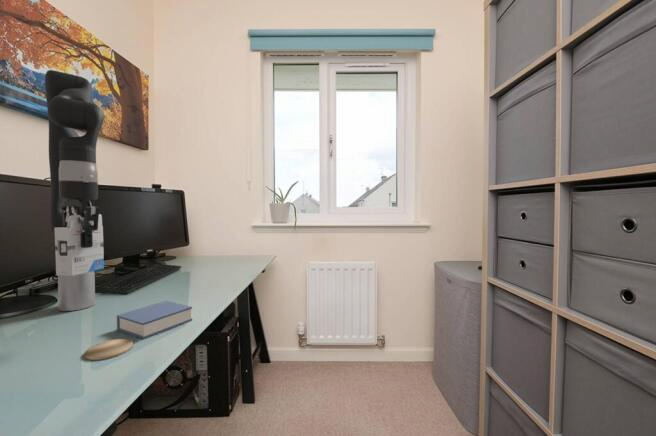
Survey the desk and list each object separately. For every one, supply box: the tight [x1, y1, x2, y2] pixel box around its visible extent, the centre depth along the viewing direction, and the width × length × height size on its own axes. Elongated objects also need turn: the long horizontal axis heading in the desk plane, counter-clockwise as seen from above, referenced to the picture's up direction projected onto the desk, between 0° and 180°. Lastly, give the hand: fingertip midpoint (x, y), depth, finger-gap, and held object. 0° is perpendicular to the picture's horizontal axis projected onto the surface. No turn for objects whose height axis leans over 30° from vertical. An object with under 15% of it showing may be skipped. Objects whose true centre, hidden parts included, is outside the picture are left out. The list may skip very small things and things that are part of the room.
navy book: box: [116, 300, 193, 340], centre depth 82 cm, size 12×14×4 cm
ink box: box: [54, 213, 105, 276], centre depth 75 cm, size 9×5×15 cm, turn 168°
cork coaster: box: [83, 338, 134, 361], centre depth 67 cm, size 9×9×1 cm
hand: (80, 246), depth 75 cm, fingers closed on ink box, 5 cm apart
